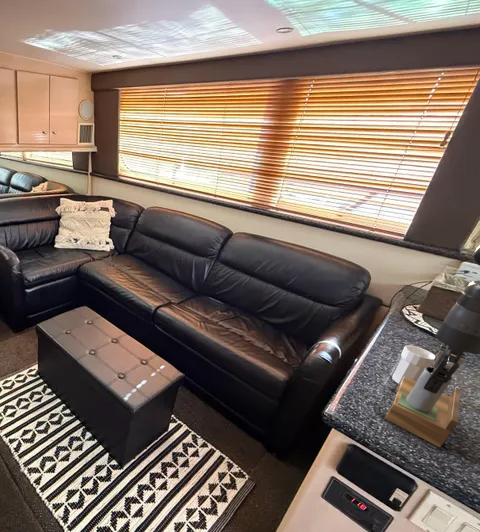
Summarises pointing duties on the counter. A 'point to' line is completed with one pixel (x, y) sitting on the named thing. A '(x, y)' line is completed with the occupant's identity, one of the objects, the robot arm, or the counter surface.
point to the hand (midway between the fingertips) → (430, 386)
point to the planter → (425, 392)
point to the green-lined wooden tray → (425, 414)
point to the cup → (412, 363)
